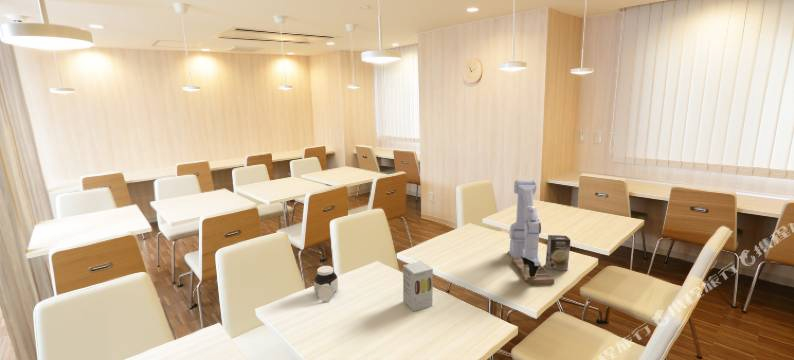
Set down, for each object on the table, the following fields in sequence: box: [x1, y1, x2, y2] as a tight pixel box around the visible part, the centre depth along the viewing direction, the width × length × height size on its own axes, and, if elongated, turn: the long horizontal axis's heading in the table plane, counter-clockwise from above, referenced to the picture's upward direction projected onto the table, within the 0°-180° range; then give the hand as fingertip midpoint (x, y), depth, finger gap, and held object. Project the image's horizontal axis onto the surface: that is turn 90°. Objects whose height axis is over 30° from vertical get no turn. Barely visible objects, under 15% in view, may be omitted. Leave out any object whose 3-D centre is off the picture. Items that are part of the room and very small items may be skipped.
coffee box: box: [545, 234, 572, 271], centre depth 188 cm, size 9×6×16 cm
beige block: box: [521, 265, 541, 282], centre depth 177 cm, size 5×8×6 cm, turn 94°
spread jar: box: [313, 265, 339, 303], centre depth 166 cm, size 12×11×12 cm
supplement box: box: [402, 260, 434, 312], centre depth 158 cm, size 10×9×17 cm
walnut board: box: [510, 257, 555, 286], centre depth 184 cm, size 24×11×3 cm, turn 4°
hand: (529, 273), depth 177 cm, fingers closed on beige block, 5 cm apart
